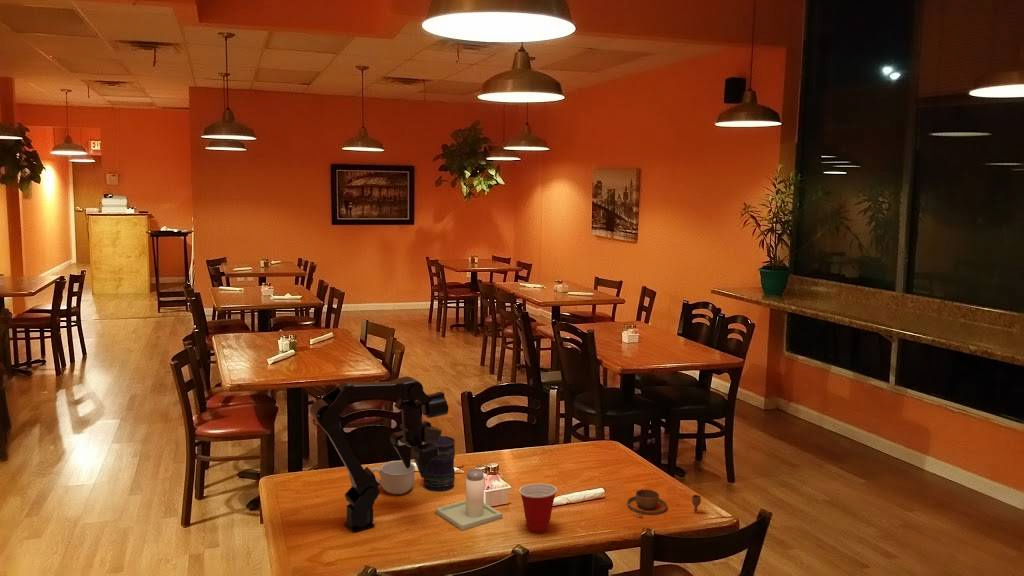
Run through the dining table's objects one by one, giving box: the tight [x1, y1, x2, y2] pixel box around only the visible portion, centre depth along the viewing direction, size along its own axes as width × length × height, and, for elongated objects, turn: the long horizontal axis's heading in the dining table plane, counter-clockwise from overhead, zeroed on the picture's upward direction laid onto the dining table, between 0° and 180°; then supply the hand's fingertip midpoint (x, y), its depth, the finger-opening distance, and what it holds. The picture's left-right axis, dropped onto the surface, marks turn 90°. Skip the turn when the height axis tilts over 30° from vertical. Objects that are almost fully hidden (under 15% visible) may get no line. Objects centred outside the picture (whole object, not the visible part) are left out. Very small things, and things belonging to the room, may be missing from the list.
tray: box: [435, 499, 503, 532], centre depth 226 cm, size 14×14×2 cm
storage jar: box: [423, 435, 456, 493], centre depth 247 cm, size 10×10×15 cm
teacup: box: [370, 460, 416, 495], centre depth 243 cm, size 14×11×8 cm
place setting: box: [626, 488, 702, 519], centre depth 233 cm, size 18×20×6 cm
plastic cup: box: [518, 482, 558, 534], centre depth 218 cm, size 11×11×12 cm
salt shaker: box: [465, 468, 485, 518], centre depth 226 cm, size 5×5×13 cm
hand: (415, 472), depth 225 cm, fingers open, 9 cm apart
